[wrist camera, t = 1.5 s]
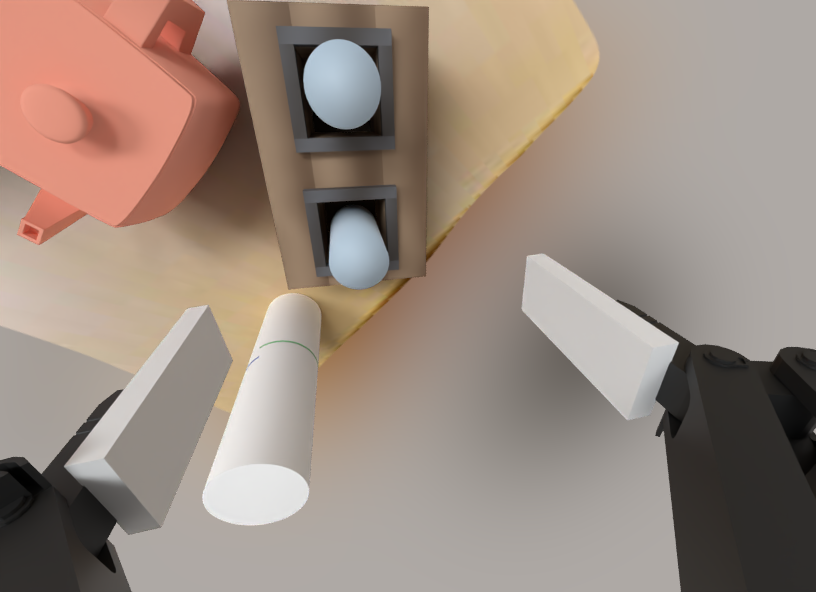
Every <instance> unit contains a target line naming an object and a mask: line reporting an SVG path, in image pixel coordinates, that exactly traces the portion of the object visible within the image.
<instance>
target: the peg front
mask: <svg viewBox="0 0 816 592" xmlns="http://www.w3.org/2000/svg"><path fill="white" fill-rule="evenodd" d="M303 82H304V90H305V94H306V97H307V100H308V102H309V104H310V106H311V108H312V109H313V111H314V112H315V113H316V115H317V116H318V117H319V118H320V119H322V120H323V121H324V122H325V123H327V124H329V125H331V126H333V127H336V128H339V129H353V128H357V127H359V126H362V125H363V124H365V123H366V122H367V121H369V119H370V118H371V117H372V116H373V115H374V113H375V111H376V110H377V107H378V105H379V101H380V97H381V81H380V76H379V73H378V70H377V67H376V65H375V63H374V62H373V60H372V58H371V57H370V56H369V54H368V53H367V52H366V51H365V50H364V49H362V48H361V47H360V46H358V45H357V44H355V43H353V42H350V41H347V40H342V39H334V40H329V41H326V42H324V43H322V44H321V45H319V46H318V47H317V48H316V49H315V50H314V51H313V52H312V53H311V55H310V56H309V58H308V60H307V63H306V66H305V69H304V79H303Z"/></svg>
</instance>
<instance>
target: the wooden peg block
mask: <svg viewBox="0 0 816 592" xmlns="http://www.w3.org/2000/svg"><path fill="white" fill-rule="evenodd" d="M227 4H228V9H229V13H230V18H231V23H232V27H233V32H234V37H235V41H236V46H237V51H238V55H239V60H240V65H241V69H242V74H243V79H244V83H245V88H246V93H247V98H248V102H249V107H250V112H251V116H252V121H253V126H254V130H255V135H256V140H257V144H258V149H259V154H260V158H261V163H262V168H263V172H264V177H265V182H266V187H267V191H268V196H269V201H270V205H271V210H272V215H273V219H274V224H275V229H276V233H277V238H278V243H279V247H280V252H281V257H282V261H283V266H284V271H285V275H286V280H287V285H288V290H289V289H299V288H309V287H320V286H330V285H340V283H339V282H338V281H337V280H336V279H335V278H334V276H333V275H332V273H331V271H330V267H329V250H330V232H328V226H327V219H326V211H325V204H324V202H337V201H354V200H371V199H375V210H376V223H377V226H378V229H379V231H380V234H381V236H382V239H383V242H384V244H385V247H386V250H387V252H388V256H389V267H388V271H387V273H386V275H385V276H384V278H383V279H382V280H391V279H402V278H412V277H422V276H426V214H427V121H428V28H429V7H418V6H389V5H360V4H331V3H302V2H272V1H243V0H227ZM334 39H342V40H347V41H350V42H353V43H355V44H357V45H358V46H360V47H361V48H362V49H364V50H365V51H366V52H367V53H368V54H369V56H370V57H371V58H372V60H373V62H374V63H375V65H376V67H377V70H378V73H379V76H380V81H381V97H380V101H379V105H378V107H377V110H376V111H375V113H374V115H373V116H372V117H371V118H370V131H357V132H319V133H315V130H314V123H313V116H312V108H311V106H310V104H309V102H308V100H307V97H306V94H305V90H304V82H303V79H304V69H305V66H306V63H307V60H308V58H309V56H310V55H311V53H312V52H313V51H314V50H315V49H316V48H317V47H318V46H319V45H321V44H322V43H324V42H326V41H329V40H334Z"/></svg>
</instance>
